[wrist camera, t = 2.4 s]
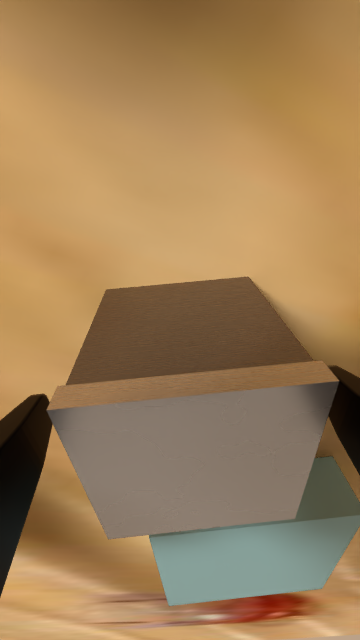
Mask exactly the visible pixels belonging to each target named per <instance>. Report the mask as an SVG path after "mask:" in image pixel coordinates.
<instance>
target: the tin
mask: <svg viewBox="0 0 360 640" xmlns="http://www.w3.org/2000/svg"><path fill="white" fill-rule="evenodd" d="M338 383H339V380H338V379H337V378H336V376H335V375H334V374H333V373H332V371H331V370H330V369H329V368H328V367H327V365H326V364H325V363H324V362H323V361H322V360H320V361H313V359H312V358H311V357H310V355H309V354H308V353H307V352H306V350H305V349H304V348H303V347H302V345H301V344H300V343H299V341H298V340H297V339H296V338H295V336H294V335H293V334H292V332H291V331H290V330H289V329H288V327H287V326H286V325H285V323H284V322H283V321H282V320H281V318H280V317H279V316H278V314H277V313H276V312H275V311H274V309H273V308H272V307H271V305H270V304H269V303H268V302H267V300H266V299H265V298H264V296H263V295H262V294H261V293H260V291H259V290H258V289H257V287H256V286H255V285H254V284H253V282H252V281H251V280H250V279H249V277H240V278H229V279H218V280H207V281H196V282H185V283H174V284H163V285H152V286H141V287H130V288H119V289H108V290H106V291H105V294H104V296H103V298H102V301H101V303H100V305H99V308H98V310H97V313H96V315H95V317H94V320H93V322H92V324H91V327H90V329H89V331H88V334H87V336H86V338H85V341H84V343H83V345H82V348H81V350H80V353H79V355H78V357H77V360H76V362H75V364H74V367H73V369H72V371H71V374H70V376H69V378H68V381H67V383H66V385H65V386H57V388H56V390H55V393H54V395H53V397H52V399H51V401H50V403H49V406H48V408H47V412H48V414H49V417H50V419H51V421H52V423H53V425H54V427H55V429H56V431H57V433H58V435H59V437H60V440H61V442H62V444H63V446H64V448H65V450H66V452H67V454H68V456H69V458H70V460H71V462H72V465H73V467H74V469H75V471H76V473H77V475H78V477H79V479H80V481H81V483H82V485H83V487H84V490H85V492H86V494H87V496H88V498H89V500H90V502H91V504H92V506H93V508H94V510H95V513H96V515H97V517H98V519H99V521H100V523H101V525H102V527H103V529H104V531H105V533H106V535H107V538H108V539H116V538H125V537H134V536H143V535H152V534H161V533H170V532H179V531H188V530H197V529H206V528H215V527H224V526H234V525H243V524H252V523H261V522H270V521H279V520H288V519H295V517H296V514H297V511H298V508H299V505H300V502H301V499H302V495H303V492H304V489H305V486H306V483H307V480H308V477H309V474H310V471H311V467H312V464H313V461H314V458H315V455H316V452H317V449H318V446H319V443H320V439H321V436H322V433H323V430H324V427H325V424H326V421H327V418H328V415H329V411H330V408H331V405H332V402H333V399H334V396H335V393H336V390H337V387H338Z"/></svg>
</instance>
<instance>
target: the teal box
mask: <svg viewBox="0 0 360 640" xmlns="http://www.w3.org/2000/svg"><path fill="white" fill-rule="evenodd" d="M359 526H360V502H359V500H358V499H357V497H356V495H355V494H354V492H353V490H352V488H351V487H350V485H349V483H348V482H347V480H346V478H345V477H344V475H343V473H342V471H341V470H340V468H339V466H338V465H337V463H336V461H335V460H334V458H333V456H330V457H321V458H314V461H313V464H312V467H311V471H310V474H309V477H308V480H307V483H306V486H305V489H304V492H303V495H302V499H301V502H300V505H299V508H298V511H297V514H296V517H295V519H288V520H279V521H270V522H261V523H252V524H243V525H234V526H224V527H215V528H206V529H197V530H188V531H179V532H170V533H161V534H152V535H149V539H150V542H151V546H152V549H153V553H154V556H155V560H156V563H157V566H158V570H159V573H160V577H161V580H162V584H163V587H164V591H165V594H166V598H167V601H168V605H169V606H173V605H182V604H191V603H200V602H209V601H217V600H226V599H235V598H244V597H253V596H262V595H271V594H279V593H288V592H297V591H306V590H315V589H322V588H323V586H324V584H325V583H326V581H327V579H328V578H329V576H330V575H331V573H332V571H333V570H334V568H335V566H336V565H337V563H338V561H339V560H340V558H341V556H342V555H343V553H344V551H345V550H346V548H347V546H348V545H349V543H350V541H351V540H352V538H353V536H354V535H355V533H356V531H357V530H358V528H359Z"/></svg>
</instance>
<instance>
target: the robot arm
mask: <svg viewBox="0 0 360 640" xmlns="http://www.w3.org/2000/svg"><path fill="white" fill-rule="evenodd" d="M327 367H328V368H329V369H330V370H331V371H332V373H333V374H334V375H335V376H336V378H337V379H338V380H339V383H338V387H337V390H336V393H335V396H334V399H333V402H332V405H331V408H330V411H329V415H328V416H329V418H330V421H331V423H332V425H333V427H334V429H335V432H336V434H337V436H338V438H339V439H340V441H341V443H342V445H343V447H344V448H345V450H346V452H347V454H348V455H349V457H350V459H351V461H352V462H353V464H354V466H355V468H356V469H357V471H358V473H359V475H360V378H359V377H357V376H355V375H353V374H351V373H349V372H347V371H346V370H344V369H342V368H340V367H338V366H334V365H333V366H327ZM49 403H50V402H49V400H48V398H47V396H46V395H45V394H36V395H31V396H29V397H28V398H27V399H26V400H24V401H23V402H22V403H21V404H19V405H18V406H17V407H16V408H15V409H13V410H12V411H11V412H10V413H9V414H7V415H6V416H5V417H4V418H3V419H1V420H0V597H1V594H2V591H3V587H4V584H5V581H6V578H7V575H8V572H9V569H10V566H11V563H12V560H13V557H14V554H15V551H16V548H17V545H18V542H19V539H20V536H21V533H22V530H23V527H24V524H25V520H26V517H27V514H28V511H29V508H30V505H31V502H32V499H33V496H34V493H35V490H36V487H37V484H38V481H39V478H40V475H41V472H42V468H43V465H44V461H45V457H46V452H47V447H48V443H49V438H50V433H51V429H52V424H53V423H52V421H51V419H50V417H49V414H48V412H47V408H48V406H49Z"/></svg>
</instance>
